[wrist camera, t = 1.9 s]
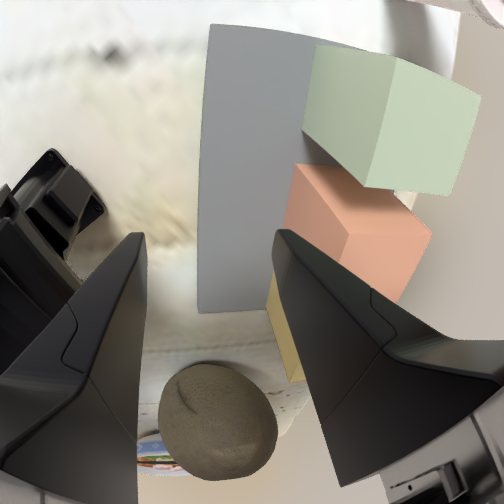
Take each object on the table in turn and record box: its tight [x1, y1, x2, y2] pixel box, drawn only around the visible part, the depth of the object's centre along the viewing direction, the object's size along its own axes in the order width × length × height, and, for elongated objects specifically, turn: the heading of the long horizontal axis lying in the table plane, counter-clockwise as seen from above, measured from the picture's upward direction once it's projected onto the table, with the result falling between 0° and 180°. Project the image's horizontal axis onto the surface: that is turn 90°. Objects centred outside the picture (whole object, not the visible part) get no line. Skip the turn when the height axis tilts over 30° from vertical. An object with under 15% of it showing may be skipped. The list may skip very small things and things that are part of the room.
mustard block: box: [266, 271, 306, 383], centre depth 25 cm, size 6×6×8 cm
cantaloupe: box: [158, 364, 278, 481], centre depth 32 cm, size 14×14×15 cm
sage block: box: [302, 45, 481, 196], centre depth 15 cm, size 6×6×8 cm
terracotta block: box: [282, 164, 432, 304], centre depth 20 cm, size 6×6×8 cm
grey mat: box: [197, 24, 394, 313], centre depth 23 cm, size 16×24×1 cm, turn 173°
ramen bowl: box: [137, 432, 191, 476], centre depth 50 cm, size 25×23×8 cm
